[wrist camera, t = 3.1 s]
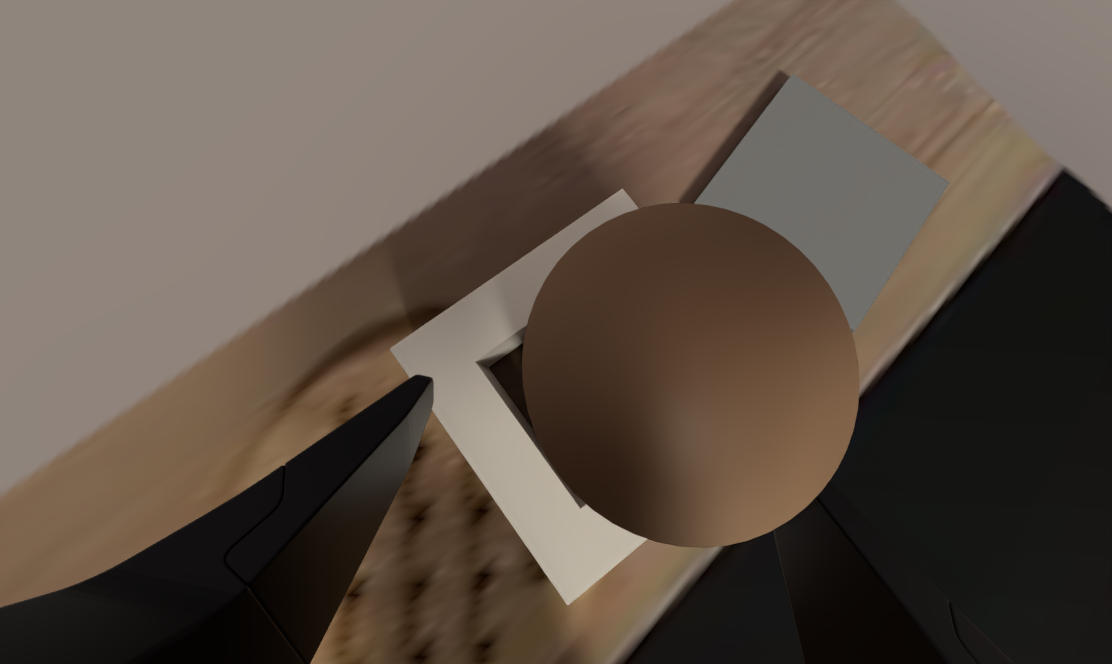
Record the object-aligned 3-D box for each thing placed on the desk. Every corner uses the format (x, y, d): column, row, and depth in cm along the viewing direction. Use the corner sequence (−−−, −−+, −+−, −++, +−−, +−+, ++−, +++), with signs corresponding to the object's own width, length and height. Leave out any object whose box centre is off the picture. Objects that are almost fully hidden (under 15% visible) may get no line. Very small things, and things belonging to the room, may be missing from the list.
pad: (940, 187, 21) (949, 182, 20) (847, 332, 20) (855, 331, 19) (786, 80, 21) (792, 73, 21) (685, 214, 20) (688, 210, 20)
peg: (656, 372, 19) (918, 333, 6) (595, 458, 18) (741, 627, 5) (574, 309, 19) (653, 142, 6) (510, 392, 18) (449, 396, 5)
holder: (744, 406, 19) (799, 410, 15) (560, 556, 17) (567, 606, 13) (605, 228, 20) (622, 188, 16) (421, 357, 18) (389, 348, 14)
